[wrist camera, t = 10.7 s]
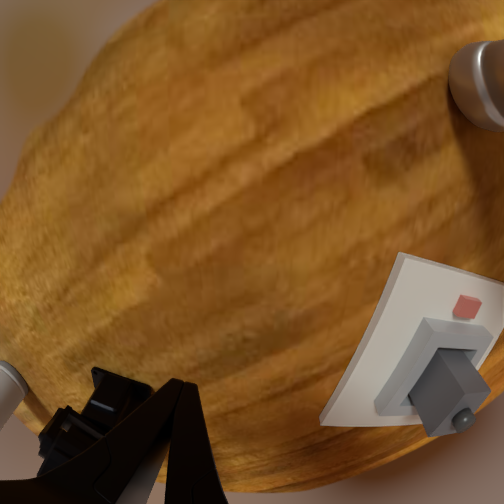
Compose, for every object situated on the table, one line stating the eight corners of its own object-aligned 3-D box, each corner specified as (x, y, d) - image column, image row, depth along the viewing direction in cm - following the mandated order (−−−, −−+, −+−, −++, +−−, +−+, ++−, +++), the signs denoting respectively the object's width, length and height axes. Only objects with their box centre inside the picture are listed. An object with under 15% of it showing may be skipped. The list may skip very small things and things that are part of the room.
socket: (435, 415, 26) (444, 433, 23) (318, 416, 25) (322, 441, 22) (514, 286, 19) (532, 300, 16) (398, 251, 19) (418, 269, 16)
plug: (431, 384, 22) (461, 442, 15) (404, 384, 22) (432, 448, 15) (457, 344, 20) (498, 400, 13) (431, 341, 20) (471, 405, 13)
